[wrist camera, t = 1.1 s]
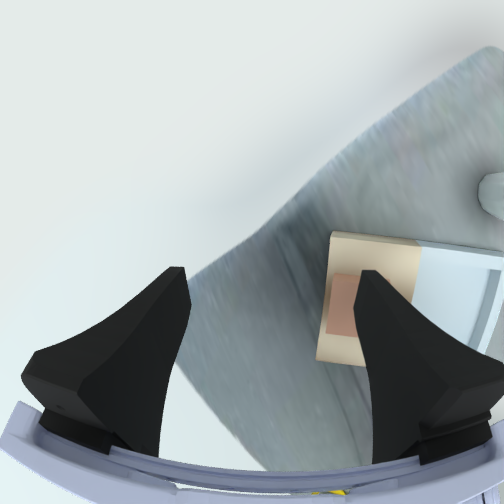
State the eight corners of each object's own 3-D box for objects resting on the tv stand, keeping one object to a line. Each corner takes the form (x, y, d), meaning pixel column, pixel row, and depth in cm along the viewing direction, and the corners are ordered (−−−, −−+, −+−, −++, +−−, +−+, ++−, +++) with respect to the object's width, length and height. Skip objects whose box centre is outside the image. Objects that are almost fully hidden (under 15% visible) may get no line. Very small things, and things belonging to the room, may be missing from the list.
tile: (379, 329, 19) (380, 340, 18) (327, 323, 21) (325, 333, 19) (389, 279, 18) (392, 286, 17) (334, 272, 20) (332, 280, 18)
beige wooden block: (390, 352, 22) (392, 369, 20) (319, 344, 24) (315, 360, 22) (414, 239, 19) (421, 247, 17) (332, 230, 21) (330, 236, 19)
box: (470, 357, 19) (477, 370, 17) (390, 352, 22) (392, 367, 20) (501, 251, 17) (513, 258, 15) (414, 239, 19) (421, 246, 17)
